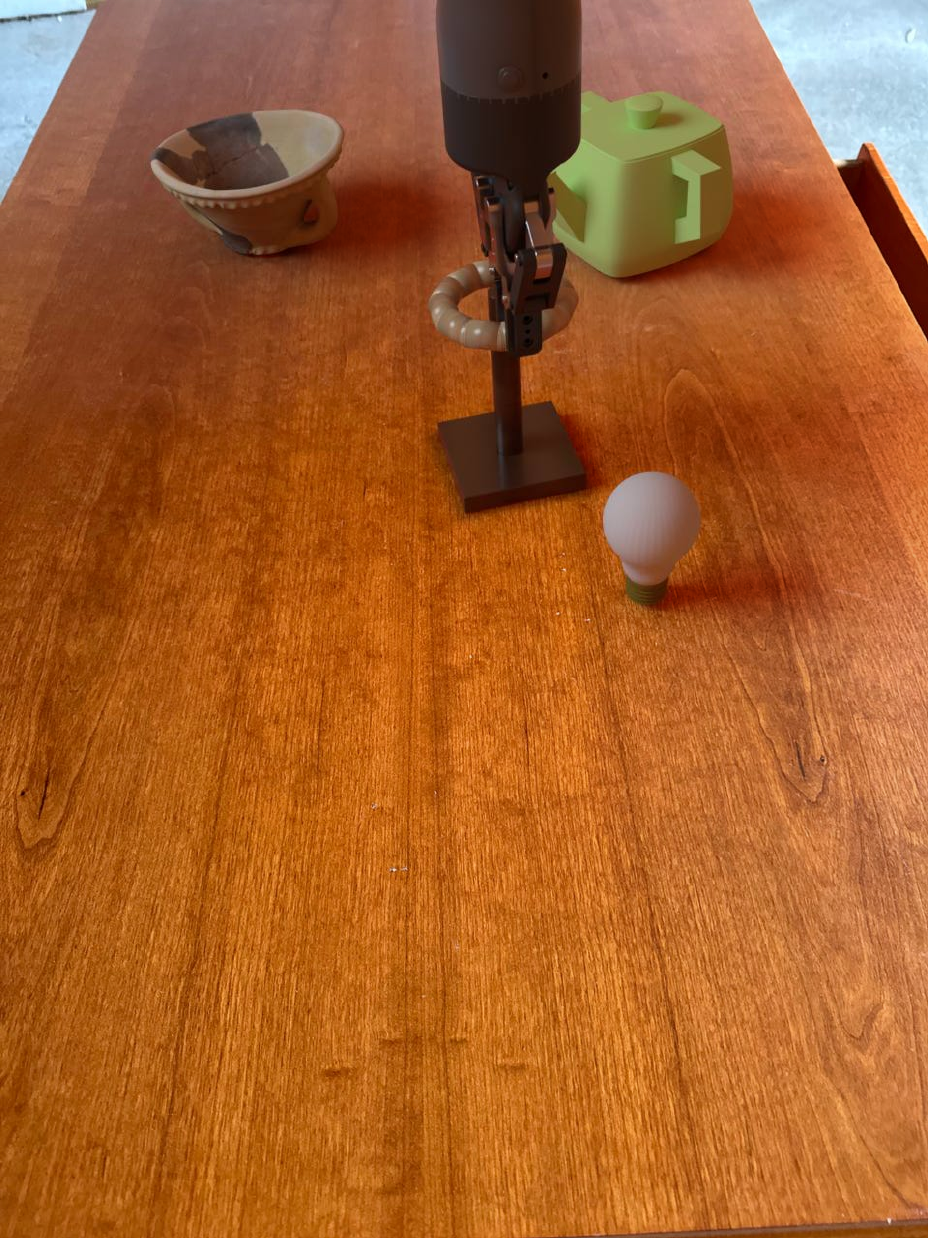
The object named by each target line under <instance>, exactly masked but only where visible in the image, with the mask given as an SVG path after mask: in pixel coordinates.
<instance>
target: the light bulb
mask: <svg viewBox="0 0 928 1238" xmlns="http://www.w3.org/2000/svg"><path fill="white" fill-rule="evenodd" d="M701 518H702V517H701V509H700V506H699V503H698V500H697V498H696V496H695V494H694V493H693V491H692V490H691V488H690V487H689V486H688V485H687V484H686V483H685V482H684V481H682V480H681V479H680V478H678V477H675V476H674V475H672V474H669V473H667V472H664V471H663V472H662V471H643V472H639V473H636V474H633V475H631V476H629V477H628V478H625V479H624V480H623V481H621V482H620V483H619V484H618V485H617V486H616V487H615V488H614V489H613V491H612V492H611V494H610V495H609V497H608V499H607V500H606V503H605V506H604V509H603V516H602V526H603V532H604V535H605V538H606V541H607V543H608V545H609V547H610V548H611V550H612V552H614V553H615V554H616V555H617V557H619V559H621V565H622V568H623V571H624V573H625V574H624V575H625V594H626V595H627V597H628V598H629V600H631V601H632V602H634V603H636V604H638V605H642V606H650V605H655V604H658V603H660V602H661V601H663V599H664V598H665V596H666V595H667V589H668V588H667V587H668V583H669V577H670V575H671V574H672V572H673V571H674V569H675V566H676V564H677V563H678V562H679V561H680V560H681V559H683V558H684V557H685V556H686V555H688V553H689V552H690V551H691V549H692V548H693V547H694V545H695V543H696V541H697V539H698V537H699V534H700V529H701V522H702V519H701Z"/></svg>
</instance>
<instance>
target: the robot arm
mask: <svg viewBox="0 0 928 1238" xmlns="http://www.w3.org/2000/svg"><path fill="white" fill-rule="evenodd" d="M435 5H436V6H435V7H436V8H435V33H436V46H437V48H436V49H437V59H438V73H439V83H440V97H441V109H442V122H443V124H442V125H443V136H444V137H443V138H444V146H445V147H444V148H445V151H446V154H447V155H448V157H449V158H450V160H451V161H452V162H453V163H454V164H456V166H458V167H459V168H461V169H463V170H465V171H467V172H469V173H470V177H471V182H472V189H473V196H474V202H475V209H476V216H477V223H478V227H479V237H480V239H481V243H480V247H481V252H482V253H483V255H484V257H485V258H488V260H489V267H488V271H489V275H491V278H492V280H493V281H494V280H498V281H496V282H494V287H495V307H496V322H504V321H505V340H506V349H507V352H508V354H509V356H510V357H512V358H520V359H521V358H524V357H529V356H535V355H538V354H539V353H541V352H542V350H543V342H542V310H547V309H552V308H554V306H555V303H556V299H557V295H558V291H559V288H560V284H561V280H562V277H563V273H564V272H565V269H566V265H567V258H568V251H567V248H566V246H565V245H564V244H563V243H562V242H557V243H554V233H553V221H554V220H555V218H556V215H557V211H556V194H555V190H554V187H553V186H548V183H547V177H548V176H549V174H550V173H551V172H552V171H553V170H554V169H556V168H557V167H558V166H560V165H561V164H563V163H565V162H566V161H568V160H569V159H570V158H571V157H572V156H573V155H574V154H575V152H576V151H577V149H578V147H579V144H580V140H581V93H582V74H583V73H582V71H583V70H582V69H583V68H582V67H583V66H582V63H583V61H582V59H583V58H582V57H583V7H582V0H436V3H435Z"/></svg>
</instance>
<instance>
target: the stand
mask: <svg viewBox="0 0 928 1238" xmlns="http://www.w3.org/2000/svg"><path fill="white" fill-rule="evenodd" d="M487 305H488V321H495V322H496V307H495V287H494V285H493V286H491V287H489V288H487ZM490 363H491V364H490V365H491V381H492V402H493V411H490V412H484V413H479V414H474V415H469V416H463V417H458V418H453V419H448V420H443V421H438V422H437V424H436V425H437V433H438V439H439V442H440V445H441V448H442V451H443V454H444V457H445V460H446V462H447V465H448V468H449V471H450V474H451V477H452V480H453V482H454V485H455V488H456V491H457V494H458V497H459V500H460V502H461V505H462V506H461V507H462V509H463V511H464V513H465V514H468V513H474V512H477V511H482V510H487V509H492V508H497V507H503V506H509V505H513V504H517V503H522V502H523V503H524V502H527V501H532V500H537V499H542V498H547V497H552V496H557V495H561V494H566V493H572V492H575V491H576V492H578V491H581V490H585V489H586V485H587V483H586V481H587V473H586V470H585V469H584V467H583V464H582V462H581V460H580V458H579V456H578V454H577V452H576V450H575V447H574V446H573V443H572V441H571V439H570V437H569V435H568V433H567V430H566V428H565V426H564V424H563V422H562V420H561V417H560V415H559V413H558V411H557V409H556V408H555V405H554V402H553V401H552V400H546V401H541V402H536V403H530V404H527V405H523V403H522V401H523V400H522V365H521V363H522V362H521V357H520V358H512V357H510V356H509V354H508V352H507V351H503V352H500V351H491V350H490Z"/></svg>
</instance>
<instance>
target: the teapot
mask: <svg viewBox="0 0 928 1238" xmlns="http://www.w3.org/2000/svg"><path fill="white" fill-rule="evenodd" d="M731 156H732V155H731V151H730V145H729V141H728V136H727V131H726V128H725V125H724V123H723V122H722V121H720V120H719V119H718V118H716V117H715V116H713V115H712V114H711V113H708V112H707V111H705V110H703V109H701V108H700V107H698V106H696V105H694V104H693V103H690V102H689V101H687V100H685V99H683V98H681V97H679V96H676V95H674V94H672V93H670V92H667V91H664V90H656V91H649V92H645V93H644V92H643V93H640V94H636V95H632V96H628V97H625V98H621V99H618V100H614V101H612V102H611V101H609V100H608V99H606V98H604V97H602V96H601V95H598V94H596V93H595V92H593V91H591V90H586V91H583V92H581V140H580V144H579V147H578V149H577V151H576V152H575V154H574V155H573V156H572V157H571V158H570V159H569V160H568V161H566V162H565V163H563V164H561V165H560V166H558V167H557V168H556V169H554V170H553V171H552V172H551V173H550V174H549V176H548V177H547V183H548V186H553V187H554V190H555V194H556V211H557V215H556V218H555V220H554V221H553V236H554V237H555V238H556V239H557V240H558V241H559V243H561V242H562V243H563V244H564V247H565V248H566V249H568V250H569V251H571V252H572V253H573V254H574V255H576V256H577V257H578V258H580V259H581V260H583V261H584V262H585V263H587V264H588V265H590V266H592V267H593V268H594V269H596V270H598V271H599V272H600V273H603V274H604V275H606V276H609V277H611V278H626V277H632V276H635V275H641V274H644V273H648V272H651V271H655V270H657V269H660V268H661V269H662V268H664V267H667V266H670V265H672V264H675V263H678V262H681V261H683V260H685V259H688V258H690V257H691V256H694V255H695V254H697V253H699V252H702V251H703V250H705V249H707V248H708V247H711V246H712V245H713V244H715V243H717V242H718V241H719V240H720V239H721V238H722V236H723V235H724V233H725V231H726V230H727V228H728V226H729V223H730V222H731V219H732V216H733V210H734V174H733V172H734V171H733V165H732V157H731Z"/></svg>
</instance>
